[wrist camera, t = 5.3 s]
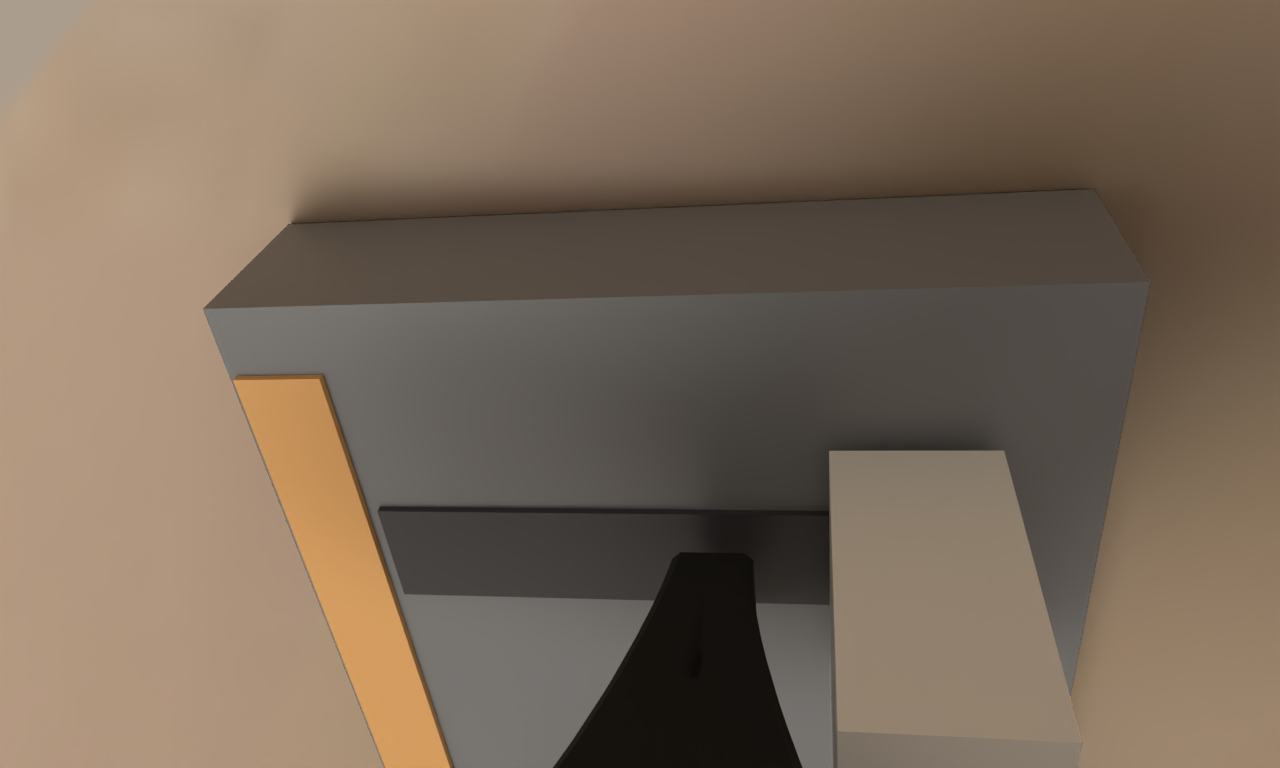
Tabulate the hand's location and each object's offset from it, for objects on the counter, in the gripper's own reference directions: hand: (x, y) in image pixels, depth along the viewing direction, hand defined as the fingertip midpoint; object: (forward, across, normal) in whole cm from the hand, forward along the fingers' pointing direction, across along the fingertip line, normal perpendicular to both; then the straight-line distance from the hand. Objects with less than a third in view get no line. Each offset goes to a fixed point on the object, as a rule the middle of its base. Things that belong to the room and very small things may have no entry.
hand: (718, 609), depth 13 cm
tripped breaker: (+1, -2, 0) cm, 2 cm away
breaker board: (+3, +1, +10) cm, 11 cm away
